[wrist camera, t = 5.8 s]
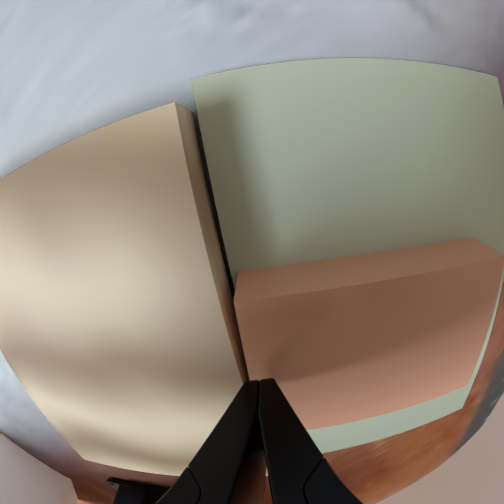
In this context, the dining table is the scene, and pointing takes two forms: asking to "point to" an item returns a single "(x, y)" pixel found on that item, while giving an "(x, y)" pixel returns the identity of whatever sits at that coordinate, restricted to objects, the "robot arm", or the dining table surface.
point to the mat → (354, 174)
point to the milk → (30, 479)
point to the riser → (120, 293)
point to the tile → (369, 327)
